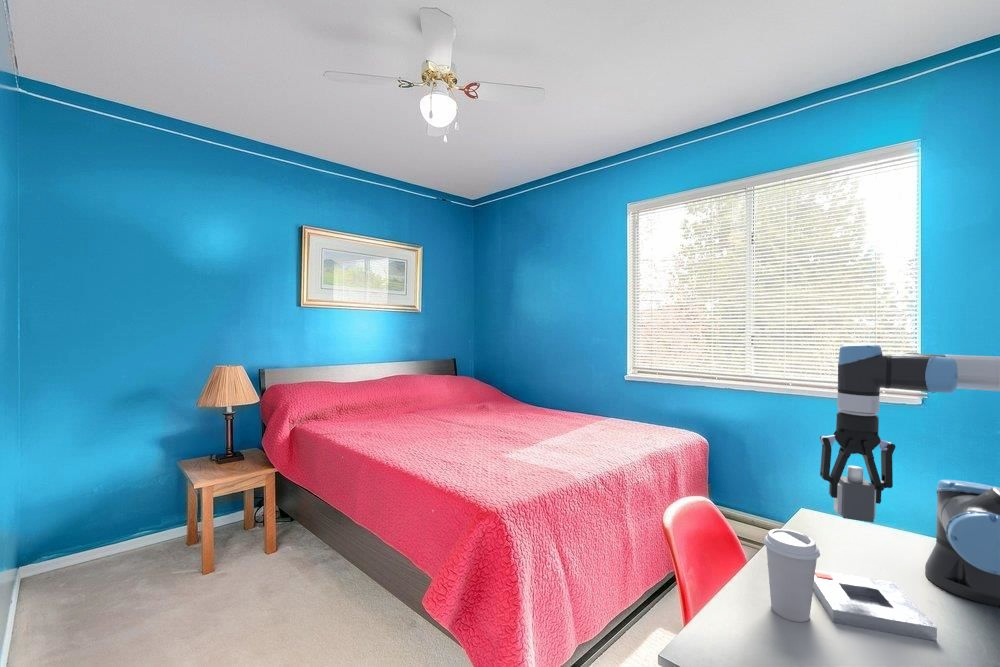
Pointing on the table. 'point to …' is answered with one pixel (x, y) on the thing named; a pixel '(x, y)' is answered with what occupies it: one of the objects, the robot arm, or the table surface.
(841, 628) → the table surface
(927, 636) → the socket plate
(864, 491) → the plug
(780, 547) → the coffee cup
